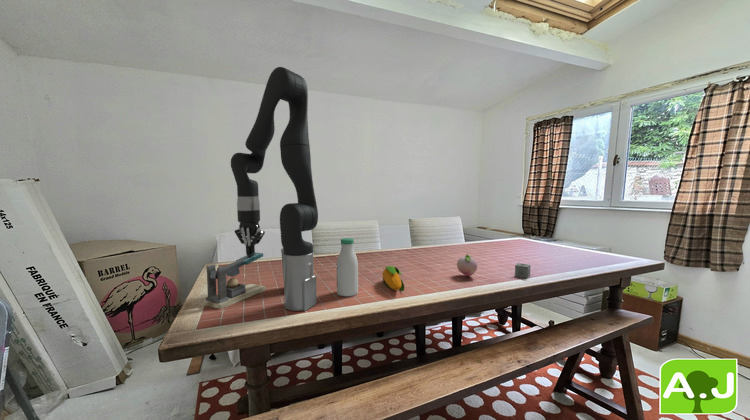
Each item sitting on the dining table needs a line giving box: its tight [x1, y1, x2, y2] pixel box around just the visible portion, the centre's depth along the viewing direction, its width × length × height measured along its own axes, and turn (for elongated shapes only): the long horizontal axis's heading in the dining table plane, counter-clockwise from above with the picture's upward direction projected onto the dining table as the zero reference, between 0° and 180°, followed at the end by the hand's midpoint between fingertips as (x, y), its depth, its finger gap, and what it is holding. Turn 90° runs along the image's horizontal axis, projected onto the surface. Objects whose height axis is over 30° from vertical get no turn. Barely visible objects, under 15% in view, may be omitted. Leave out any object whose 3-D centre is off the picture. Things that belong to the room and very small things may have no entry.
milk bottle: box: [336, 237, 359, 297], centre depth 102 cm, size 8×8×20 cm
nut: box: [226, 277, 239, 289], centre depth 97 cm, size 4×4×4 cm
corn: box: [382, 265, 405, 292], centre depth 109 cm, size 7×8×20 cm
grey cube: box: [514, 262, 531, 279], centre depth 124 cm, size 5×5×5 cm
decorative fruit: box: [456, 253, 478, 278], centre depth 123 cm, size 9×8×10 cm
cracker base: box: [202, 264, 267, 310], centre depth 98 cm, size 8×19×13 cm, turn 157°
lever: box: [210, 251, 264, 280], centre depth 99 cm, size 5×17×11 cm, turn 157°
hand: (250, 255), depth 104 cm, fingers closed
